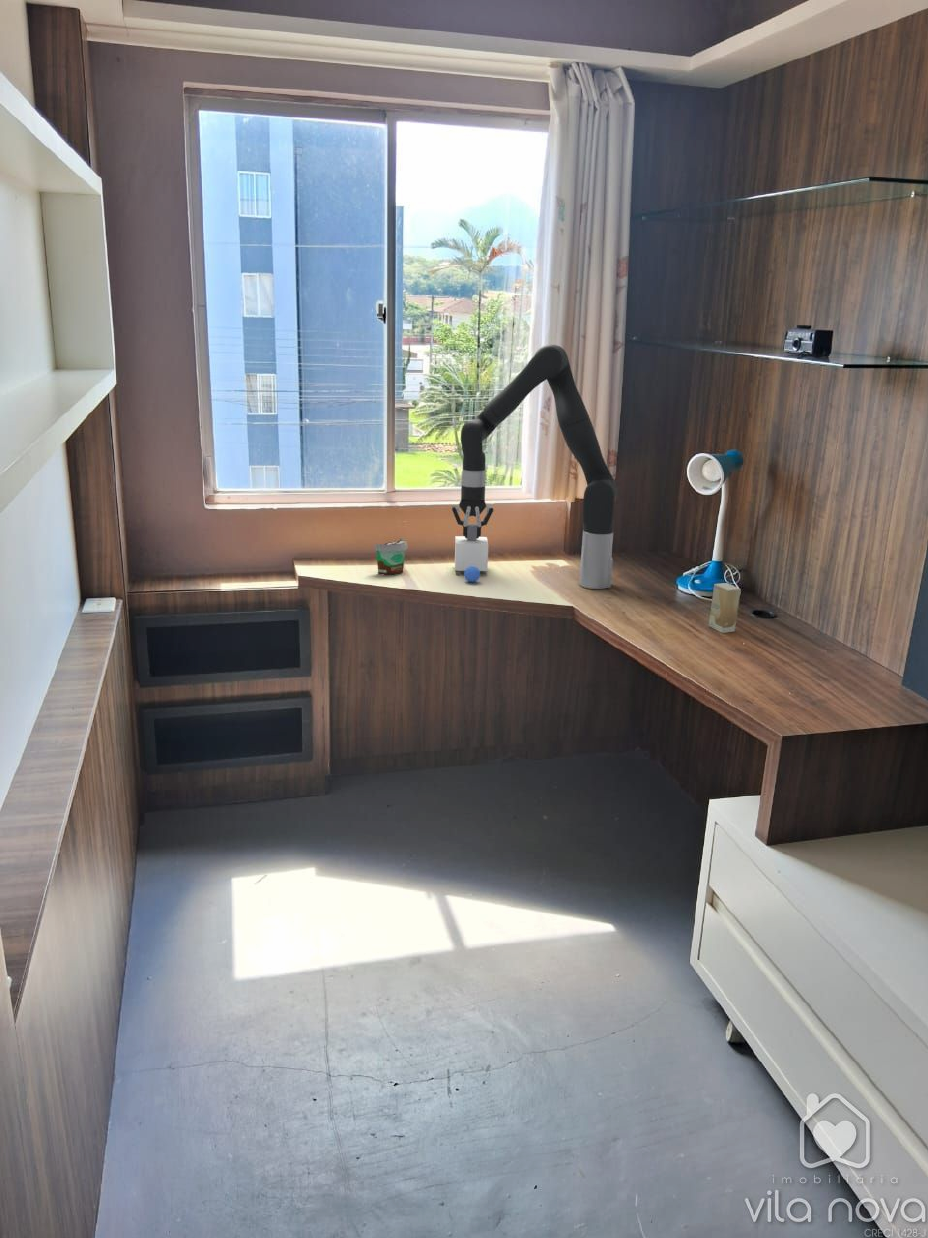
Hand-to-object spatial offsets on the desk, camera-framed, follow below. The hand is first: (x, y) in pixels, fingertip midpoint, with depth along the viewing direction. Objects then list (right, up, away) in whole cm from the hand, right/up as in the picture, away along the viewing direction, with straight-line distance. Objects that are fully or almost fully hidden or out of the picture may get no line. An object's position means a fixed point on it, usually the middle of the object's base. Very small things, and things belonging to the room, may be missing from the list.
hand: (471, 537), depth 303 cm
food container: (-24, -12, -2) cm, 27 cm away
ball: (0, -12, -10) cm, 16 cm away
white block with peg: (0, -9, +3) cm, 10 cm away
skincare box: (+67, -29, -46) cm, 87 cm away
